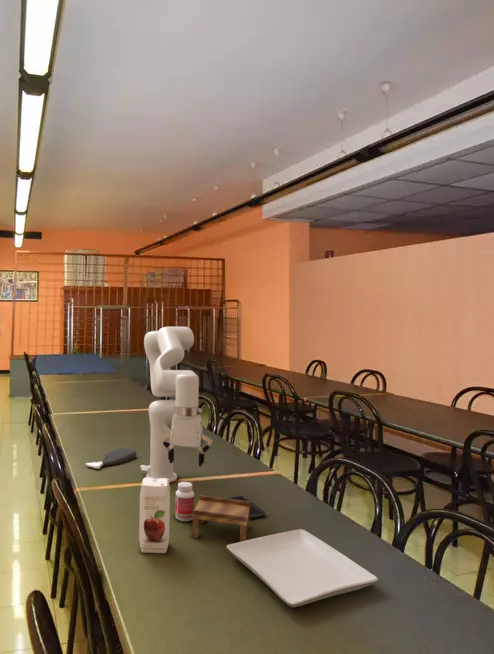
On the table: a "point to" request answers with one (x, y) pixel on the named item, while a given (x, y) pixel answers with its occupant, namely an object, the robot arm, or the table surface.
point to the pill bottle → (184, 502)
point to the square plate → (301, 567)
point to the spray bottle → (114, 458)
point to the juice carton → (154, 515)
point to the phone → (251, 508)
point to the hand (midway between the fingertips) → (186, 463)
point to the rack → (221, 513)
